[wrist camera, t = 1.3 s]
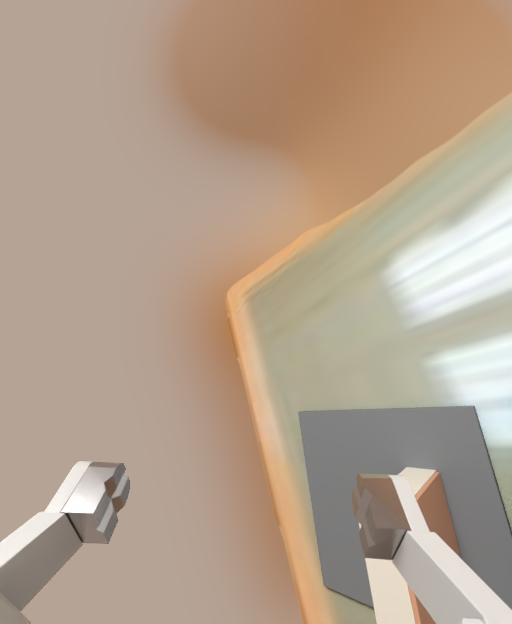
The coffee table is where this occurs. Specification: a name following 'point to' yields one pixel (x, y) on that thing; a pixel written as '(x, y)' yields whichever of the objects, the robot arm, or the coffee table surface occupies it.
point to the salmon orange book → (382, 573)
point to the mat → (393, 460)
